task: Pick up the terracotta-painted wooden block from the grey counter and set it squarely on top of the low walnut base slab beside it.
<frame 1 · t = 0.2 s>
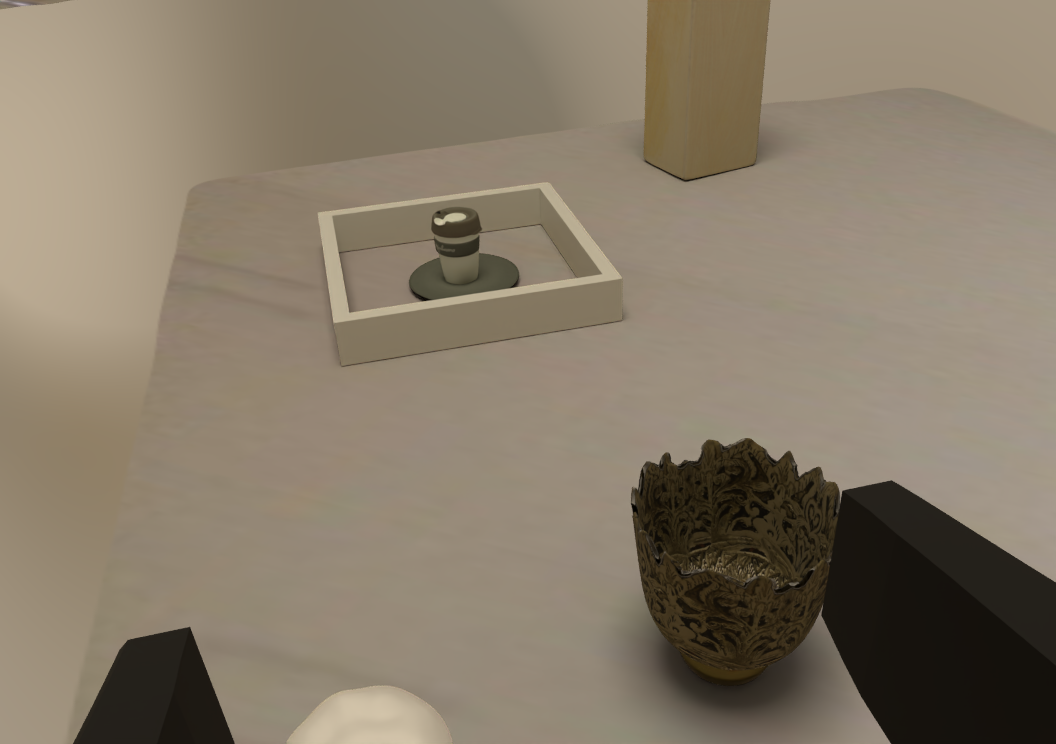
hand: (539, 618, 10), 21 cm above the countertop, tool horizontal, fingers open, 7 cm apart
cup: (723, 659, 37), on the countertop
cup tray: (460, 281, 66), on the countertop
coffee cup: (460, 281, 66), resting in cup tray
toy refrigerator: (697, 163, 84), on the countertop
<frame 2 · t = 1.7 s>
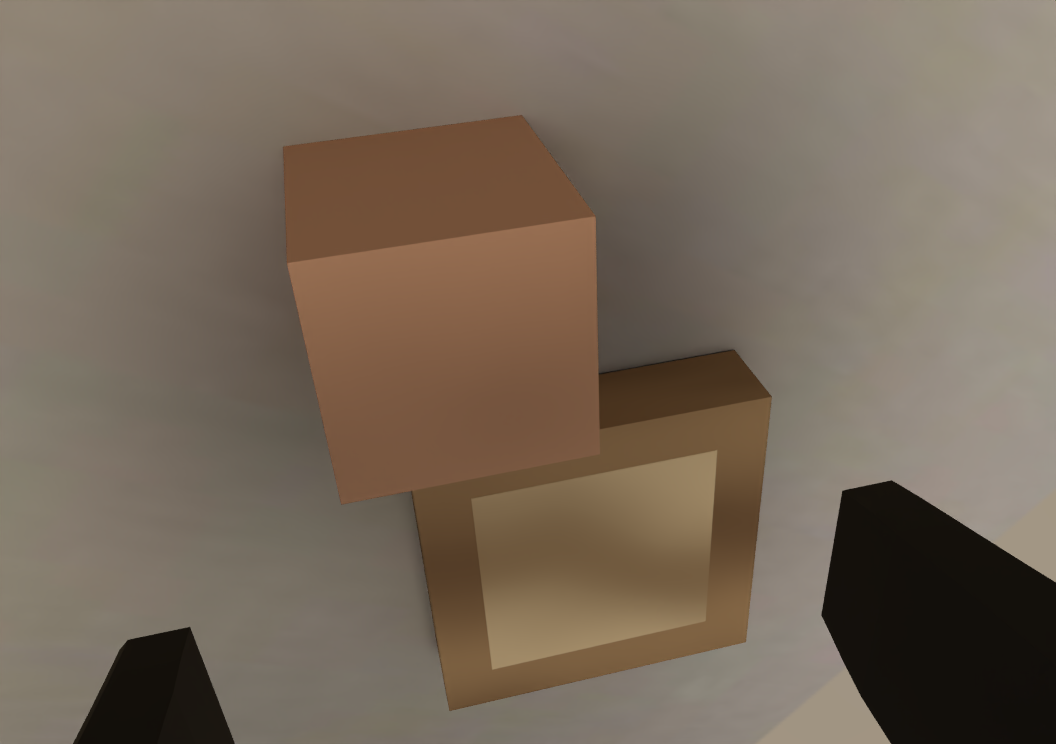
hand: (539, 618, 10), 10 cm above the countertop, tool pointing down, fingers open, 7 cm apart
block: (419, 238, 19), on the countertop
base slab: (576, 510, 23), on the countertop
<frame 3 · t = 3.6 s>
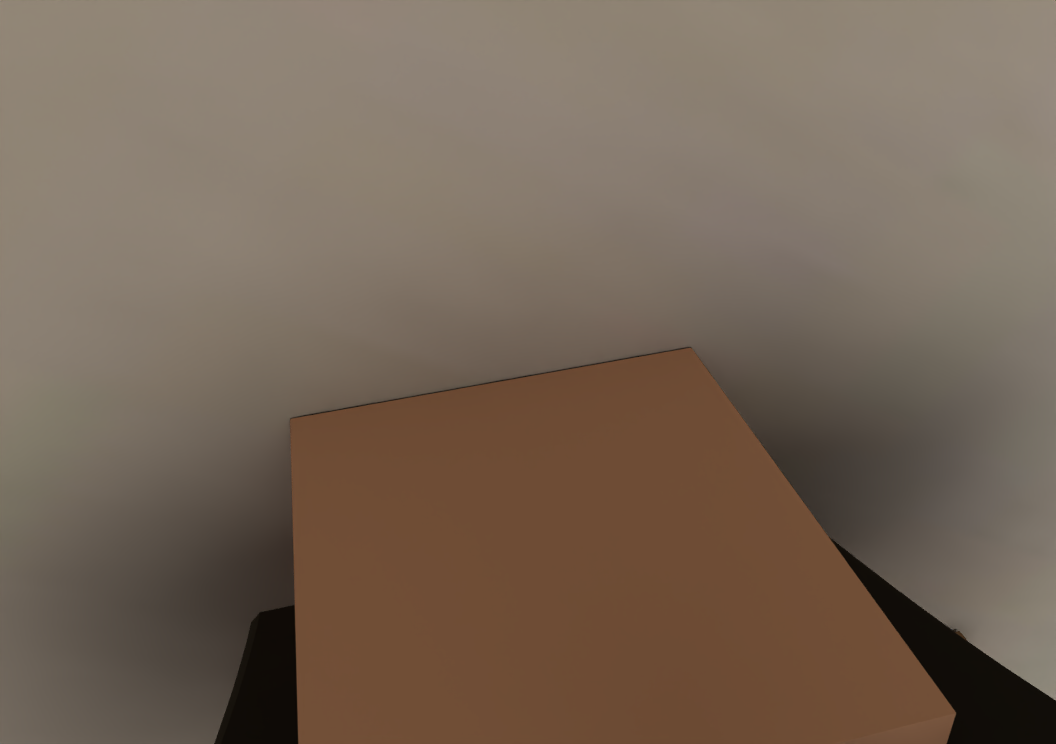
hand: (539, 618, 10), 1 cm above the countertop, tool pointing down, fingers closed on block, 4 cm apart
block: (511, 532, 11), on the countertop, touching gripper
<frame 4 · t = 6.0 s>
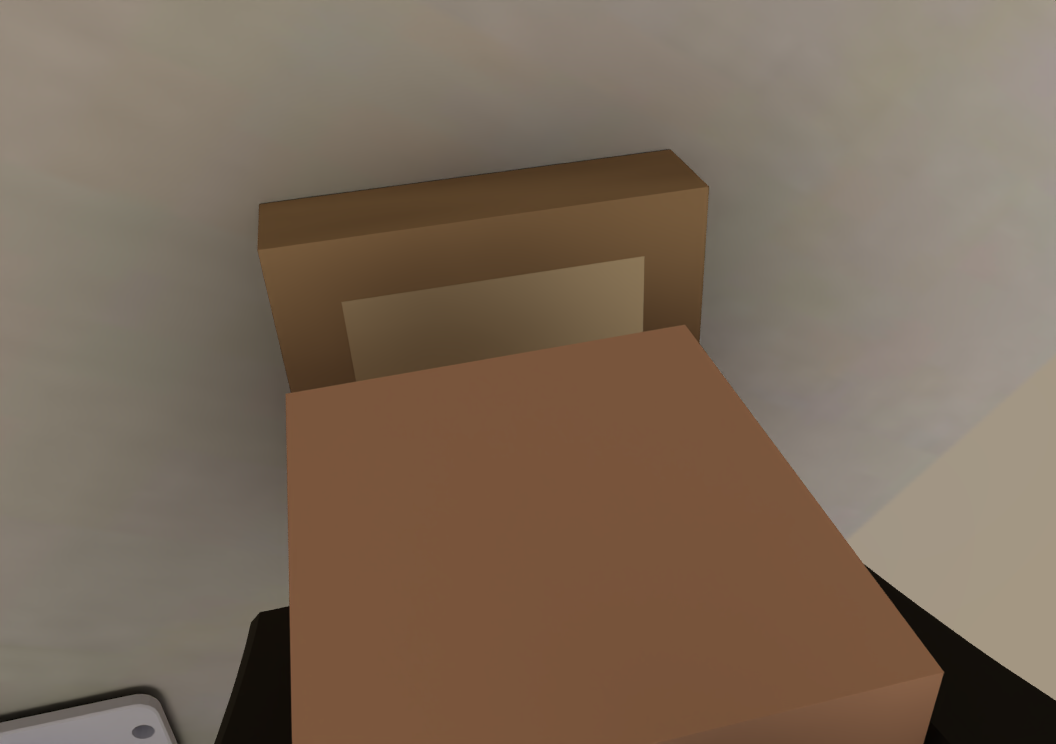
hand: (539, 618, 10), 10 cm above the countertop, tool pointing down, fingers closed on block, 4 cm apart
block: (506, 510, 11), point 8 cm above the countertop, touching gripper
base slab: (487, 351, 20), on the countertop
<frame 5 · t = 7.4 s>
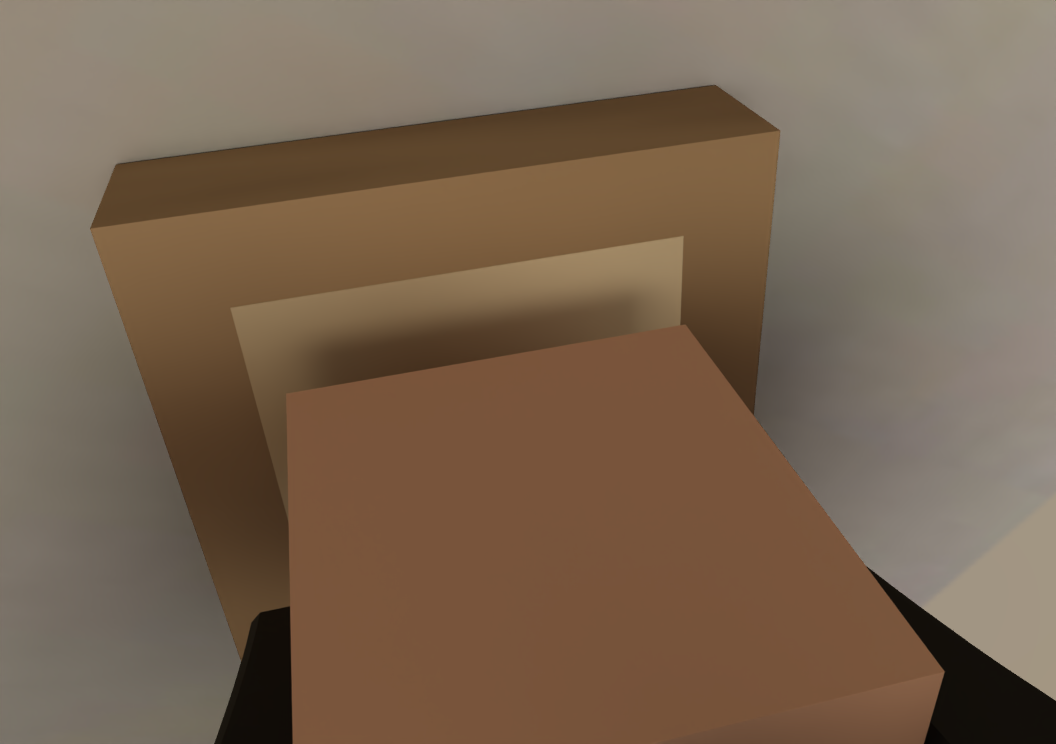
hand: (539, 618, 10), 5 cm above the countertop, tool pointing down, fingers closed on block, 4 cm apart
block: (507, 510, 11), point 4 cm above the countertop, touching gripper
base slab: (461, 374, 14), on the countertop
when the fingers open (4 cm above the countertop, at t = 8.7 s): block stays where it is, resting on base slab.
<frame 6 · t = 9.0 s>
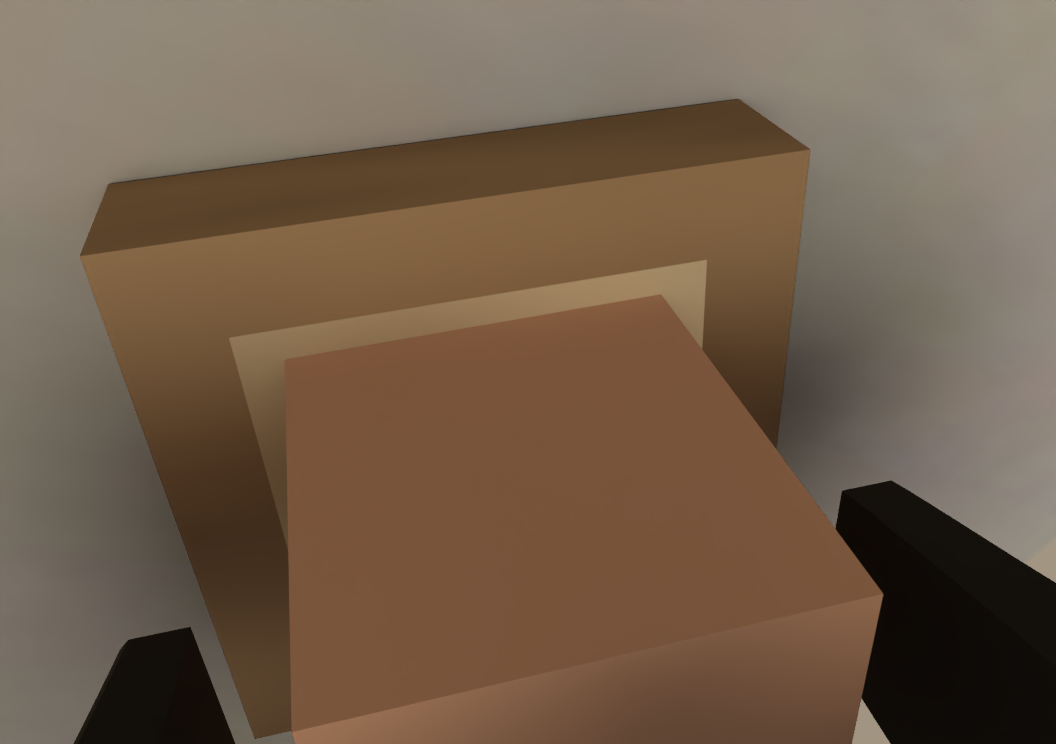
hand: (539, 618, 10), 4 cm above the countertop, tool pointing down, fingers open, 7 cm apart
block: (495, 473, 12), point 2 cm above the countertop, touching base slab
base slab: (470, 398, 14), on the countertop
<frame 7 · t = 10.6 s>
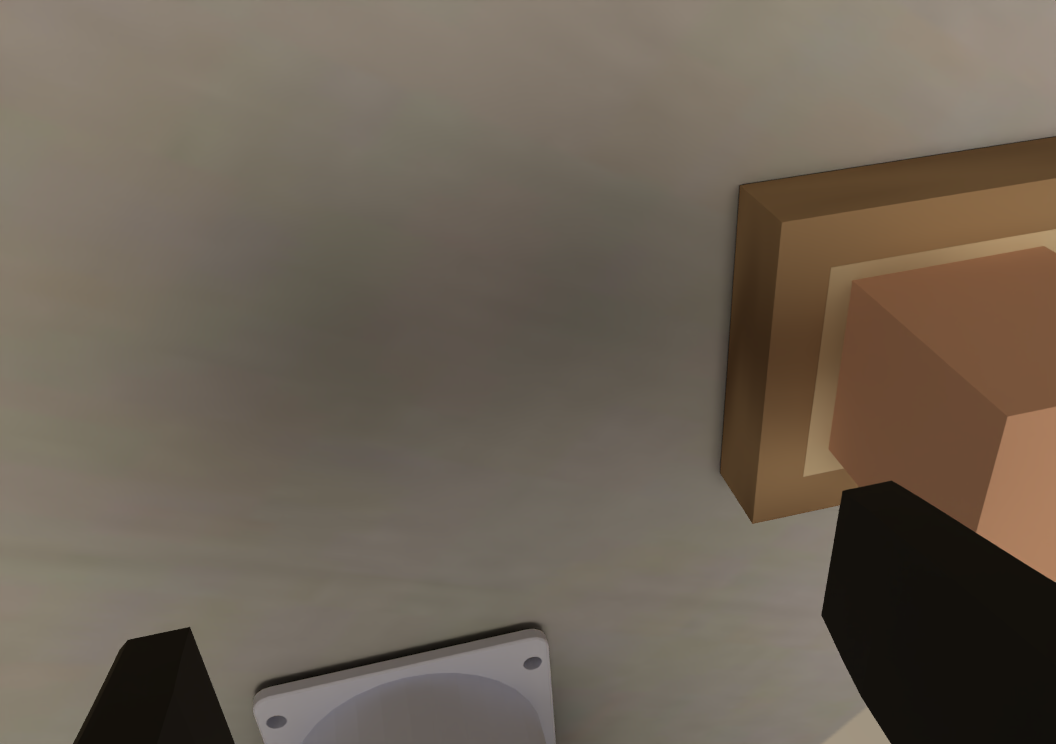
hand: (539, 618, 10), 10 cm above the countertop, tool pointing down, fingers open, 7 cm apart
block: (931, 352, 21), point 2 cm above the countertop, touching base slab
base slab: (882, 315, 23), on the countertop
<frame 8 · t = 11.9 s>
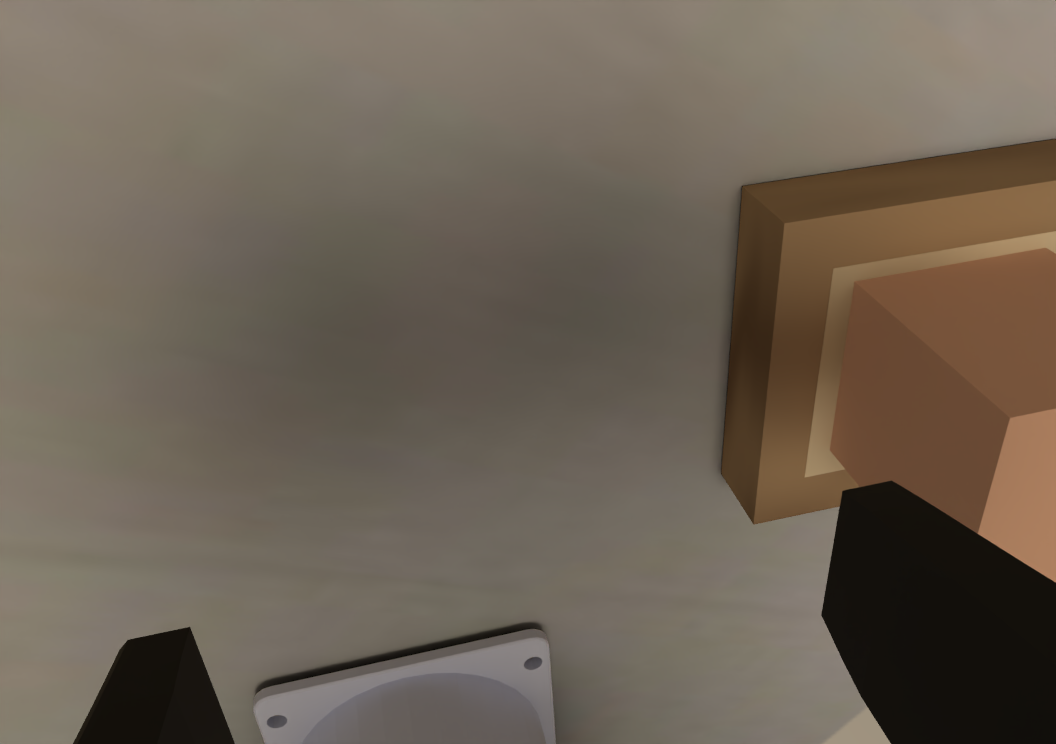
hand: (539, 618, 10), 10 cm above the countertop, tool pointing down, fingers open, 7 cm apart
block: (933, 353, 21), point 2 cm above the countertop, touching base slab
base slab: (884, 317, 23), on the countertop
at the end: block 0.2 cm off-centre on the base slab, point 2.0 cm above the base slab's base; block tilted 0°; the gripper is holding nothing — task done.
